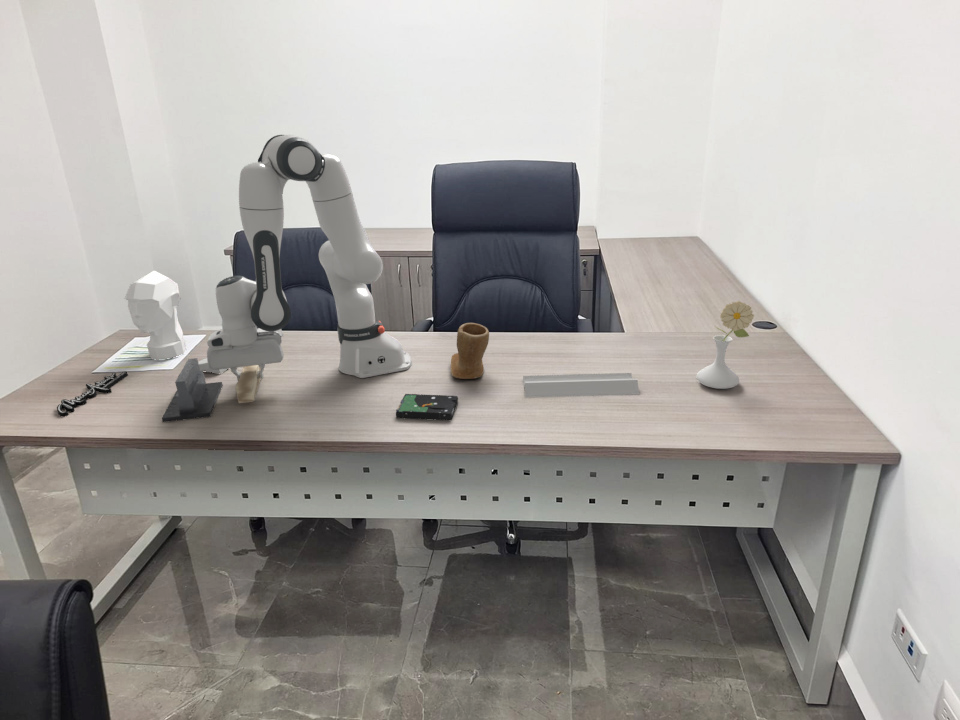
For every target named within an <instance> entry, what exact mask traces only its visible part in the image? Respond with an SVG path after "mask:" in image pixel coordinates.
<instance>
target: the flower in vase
mask: <svg viewBox="0 0 960 720" xmlns="http://www.w3.org/2000/svg"><path fill="white" fill-rule="evenodd" d="M753 312H754V311H753V310H752V306H751V305H750V304H747V303H745V302H743V301H740V300H738V301H733V302H731V303H729V304H728V303H727V304H726V305H725V306H724V308H723V309H722V310H721V313H720V315H719V317H720V319H721V322H722V326H724V327H725V328H727V329H730V331H729V332H728V333H726V331H725V330H723V329H721V328H719V327H717V326H716V325H714V327H715V328H716V329H717V330H718V331H721V332H723V333H724V334H726V335H724V334H719V335H718V334H716V335H714V336H712V339H713V341H714V342H715V346H716V356H715V359H714V361H713V363H711V364H709V365H707V366H705V367H703V368H702V369H700V370H699V371H698V372H697V374H696V376H695V377H696V380H697V381H698V382H699V383H700V384H702V385H703V386H706V387H709V388H713V389H717V390H720V389H721V390H723V389H724V390H725V389H732V388H734V387H737V386H738V384H740V378H739V377H740V376H739V375H738V374H737V373H736V372H735V371H734V370H733V369H731V367H729V366H728V365H727V364H726V361H725V358H726V352H727V349H728V347H729V344H730V343H731V342H732V341H733V340H734V339H733V338H732V337H731V336H730V334H731V333H733V334H734V335H735V337H737V338H748V337H750V335H749V333H748V332H747V331H746V328H748V327H749V326H750V324H751V323H752V322H753V320H754V317H755V314H754V313H753Z"/></svg>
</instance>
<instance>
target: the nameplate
mask: <svg viewBox="0 0 960 720" xmlns="http://www.w3.org/2000/svg"><path fill="white" fill-rule="evenodd" d="M127 376H129V374H128V371H123V372H121V373H120V374H118V375H117V374H116V372H112V373H111V374H110V375H105V376H103V379H102V380H100V381H95V382H94V384H91V383H86V384H85V386H86V389H87V391H85V392H81V394H80V395H78V396H75V397H74V398H72V399H71V398H70V399H67V398H65V399H64V398H63V399H61V400H60V403H59V404H58V405H57V406H56V412H57V415H58V416H60V417H61V416H62V417H61V418H64V417H65V416H66V417H67V416H69V415H70V414H69V413H74V411H75V409H76V408H77V406H78V407H80V406H84V405H87V403H88V401H87V400H88V399H89V400H91V399H94V398H96V397H97V395H98V393H101V394H111V393H112V389H111V388H112V387H115V385H116V384H118V383H120V382H121V381H123V380H124V379H125V378H127ZM68 411H69V412H68ZM66 417H65V418H66Z"/></svg>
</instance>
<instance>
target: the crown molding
mask: <svg viewBox="0 0 960 720" xmlns="http://www.w3.org/2000/svg"><path fill="white" fill-rule="evenodd" d="M522 382H523V389H524V396H525V398H526V399H527V398H529V399H530V398H558V397H559V398H561V397H562V398H564V397H565V398H566V397H599V396H629V395H631V396H632V395H640V389H639V382H638V378H633V374H632V372H620V373H619V372H618V373H617V372H616V373H615V372H613V373H612V372H611V373H583V374H581V373H580V374H577V373H575V374H545V375H541V374H540V375H539V374H538V375H523V376H522Z"/></svg>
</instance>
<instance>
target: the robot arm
mask: <svg viewBox="0 0 960 720" xmlns="http://www.w3.org/2000/svg"><path fill="white" fill-rule="evenodd" d="M289 180H291V181H296V182H305V183H306V184H307V187H308V188H309V192H310V196H311V198H312V199H311V200H312V202H313V207H314V210H315V215H316V216H317V221H318V224H319V227H320V229H321V231H322V232H323V233H324V235H325V236H326V237H327V239H328V240H326V241H324V243H322V244H321V246H320V248H319V251H318V260H319V262H320V265H321V266H322V268H323V269H324V271H325V274H326V277H327V280H328V282H329V286H330V288H331V289H330V290H331V292H332V295H333V299H334V301H335V302H334V303H335V307H336V309H335V310H336V316H337V322H338V323H337V338H338V342H339V343H340V353H339V354H340V355H339V356H340V357H339V363H338V371H340V372H341V373H342V374H344V375H345V374H346V375H348V376H349V375H351V376H355V377H357V378H359V379H364V378H370V377H375V376H382V375H386V374H392V373H397V372H401V371H407V370H408V369H410V368H411V366H412V357H411V356H410V355H411V354H409V353H408V352H407V351H404V350H403V345H402V343H401V342H400V341H399V340H398V339H397V338H395V337H393V336H392V335H390V334H388V333H387V332H385V331H386V330H385V327H384V325H383V323H382V322H381V320H377V319H376V316H375V315H376V314H375V305H374V298H373V296H372V293H371V292H370V290H369V288H368V285H370V284H373V283H375V282H376V281H377V280H378V279H379V278H380V277H381V275H382V273H383V269H384V265H383V259H382V258H381V256H380V255H379V253H377V251H376V250H375V249H374V247H373V245H372V243H371V241H370V238H369V237H368V234H367V232H366V231H365V229H364V226H363V224H362V223H361V220H360V216H359V214H358V209H357V206H356V202H355V198H354V194H353V192H352V187H351V183H350V181H349V178H348V175H347V172H346V170H345V168H344V166H343V163H342V161H341V160H340V158H339V157H338V156H337V155H334V154H331V153H321V152H319V150H318V149H317V148H316V147H315V146H314V144H312V143H311V142H310V141H309V140H308V139H305V138H303V137H299V136H296V135H294V134H277V135H274V136H272V137H271V138H269V139H268V140H267V141H266V143H265V145H264V146H263V149H262V151H261V153H260V155H259V156H258V159H257V162H251V163H248V164H247V165H244V167H243V168H242V169H241V171H240V174H239V180H238V181H239V184H238V203H239V205H238V206H239V208H238V209H239V216H240V221H241V224H242V229H243V232H244V235H245V239H246V240H247V242H248V245H249V248H250V250H251V253H252V257H253V261H254V273H255V280H252V279H248V278H247V277H245V276H243V275H231V276H229V277H226V278H224V279H222V280H220V281H219V282H218V283H217V285H216V287H215V300H216V305H217V311H218V314H219V315H220V318H221V329H218V330H216V331H214V332H212V333H211V334H210V335H209V337H208V339H207V341H206V343H207V346H208V348H207V351H206V357H207V361H208V366H209V368H210V369H212V370H219V369H227V368H230V371H231V373H233V374H234V376H235V377H236V378H237V379H236V381H238V380H239V378H240V375H241V373H242V372H240V371H239V370H238V368H243V367H245V366H253V365H259V368H261V370H260V371H257V373H256V374H257V379H261V380H262V379H263V378H264V370H265V366H266V365H269V364H277V363H278V364H279V363H281V362H283V359H284V350H283V347H282V337H281V336H280V334H279V333H277V332H274V331H277V330H280V329H281V330H282V329H284V328H285V327H286V326H287V325H288V324H289V322H290V320H291V317H292V316H291V315H292V310H291V306H290V305H289V303H288V301H287V297H286V294H285V292H284V290H283V288H282V286H283V285H282V275H281V274H282V273H281V263H280V262H281V259H280V258H281V257H280V256H281V255H280V254H281V246H282V239H283V231H284V224H285V223H284V218H285V213H284V211H285V210H284V198H283V194H284V188H285V185H286V184H287V182H288V181H289ZM258 328H260V329H262V330H265V331H269V332H257V329H258ZM263 369H264V370H263Z"/></svg>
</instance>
